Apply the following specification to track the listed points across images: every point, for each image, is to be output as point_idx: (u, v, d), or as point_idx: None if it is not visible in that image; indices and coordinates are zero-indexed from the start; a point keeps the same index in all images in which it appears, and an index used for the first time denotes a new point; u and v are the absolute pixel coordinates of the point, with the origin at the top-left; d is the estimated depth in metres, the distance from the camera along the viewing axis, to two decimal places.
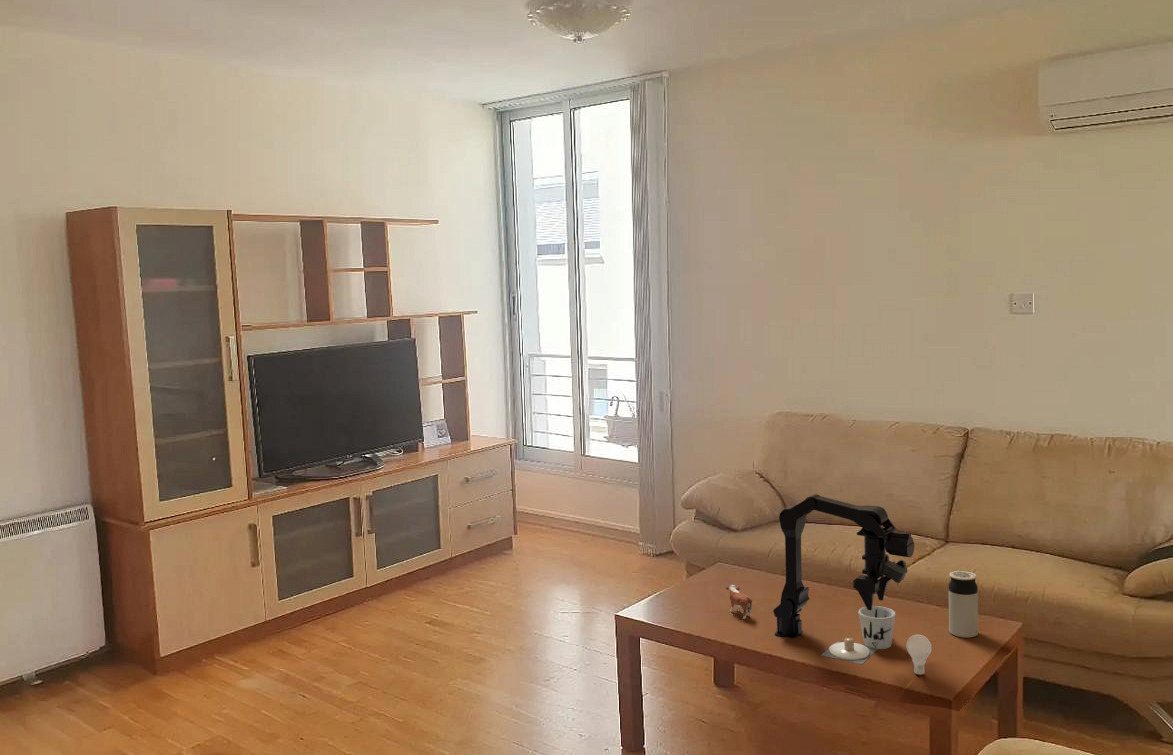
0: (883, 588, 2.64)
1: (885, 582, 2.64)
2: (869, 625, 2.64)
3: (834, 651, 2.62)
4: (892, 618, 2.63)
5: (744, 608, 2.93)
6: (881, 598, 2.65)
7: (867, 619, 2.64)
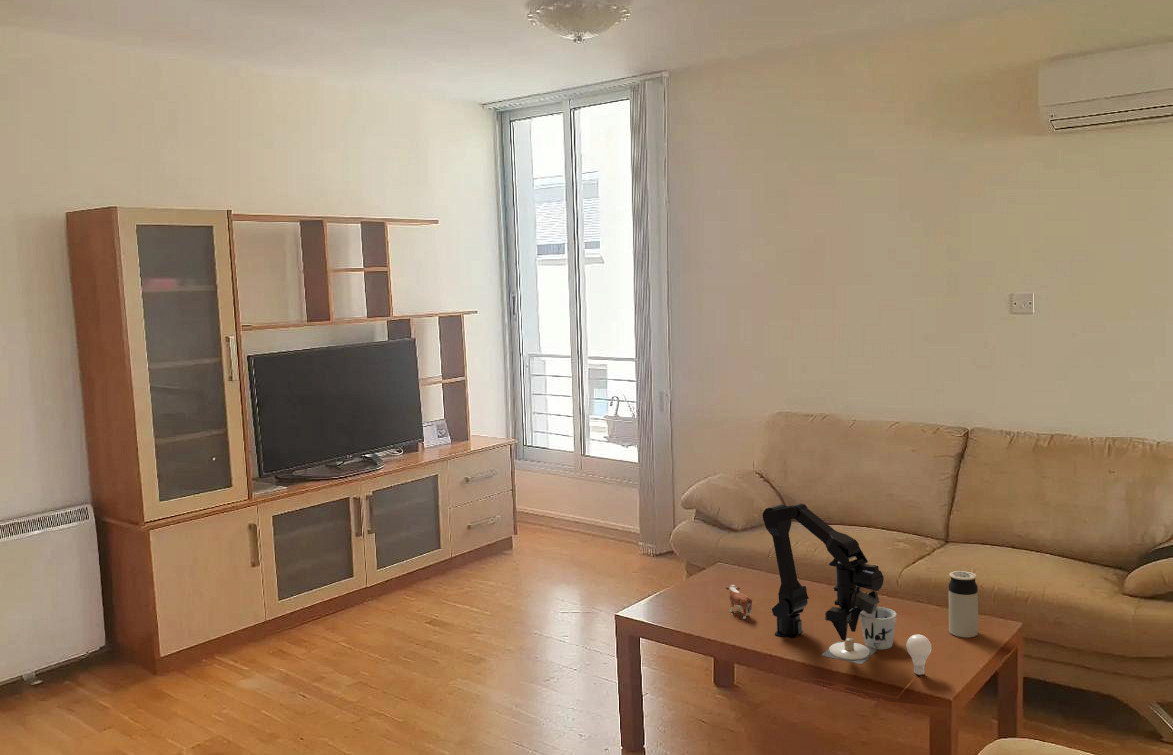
0: (855, 619, 2.65)
1: (857, 613, 2.65)
2: (871, 626, 2.64)
3: (834, 651, 2.62)
4: (893, 618, 2.63)
5: (744, 608, 2.93)
6: (853, 629, 2.65)
7: (869, 620, 2.64)
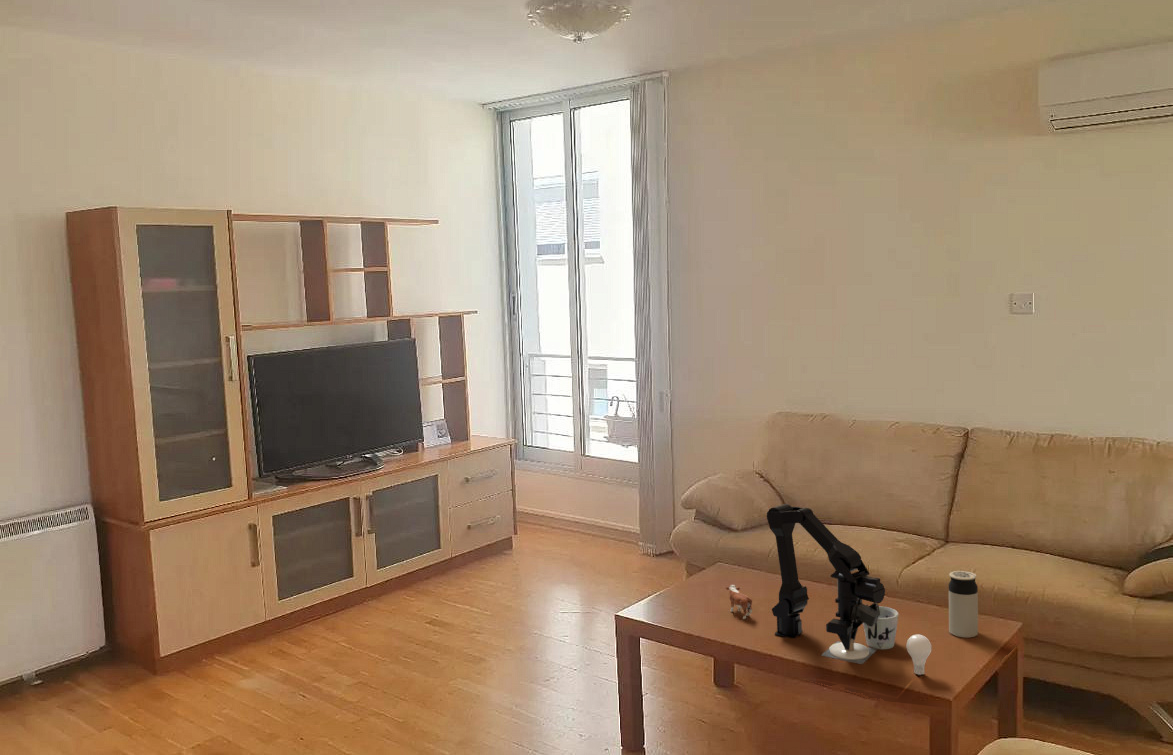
0: (853, 634, 2.63)
1: (855, 628, 2.63)
2: (874, 626, 2.63)
3: (834, 651, 2.62)
4: (896, 617, 2.63)
5: (744, 608, 2.93)
6: None
7: None
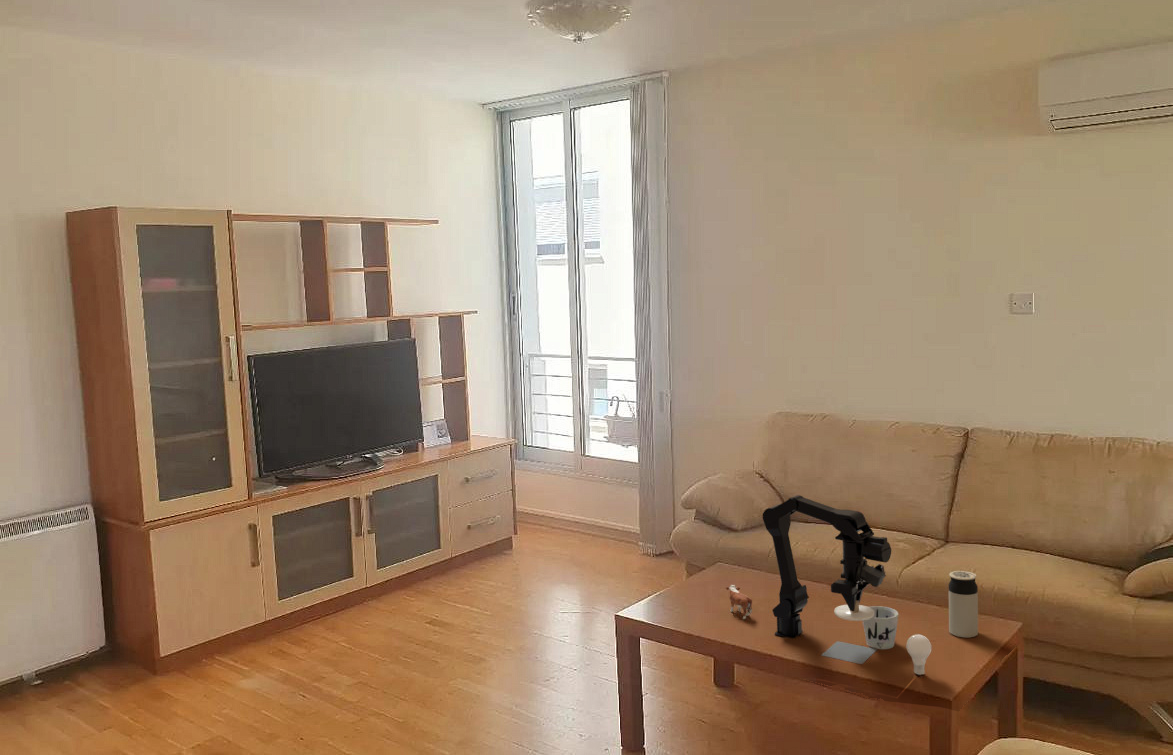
0: (858, 595, 2.64)
1: (860, 589, 2.63)
2: (874, 626, 2.63)
3: (839, 613, 2.62)
4: (896, 617, 2.63)
5: (744, 608, 2.93)
6: None
7: (872, 620, 2.63)
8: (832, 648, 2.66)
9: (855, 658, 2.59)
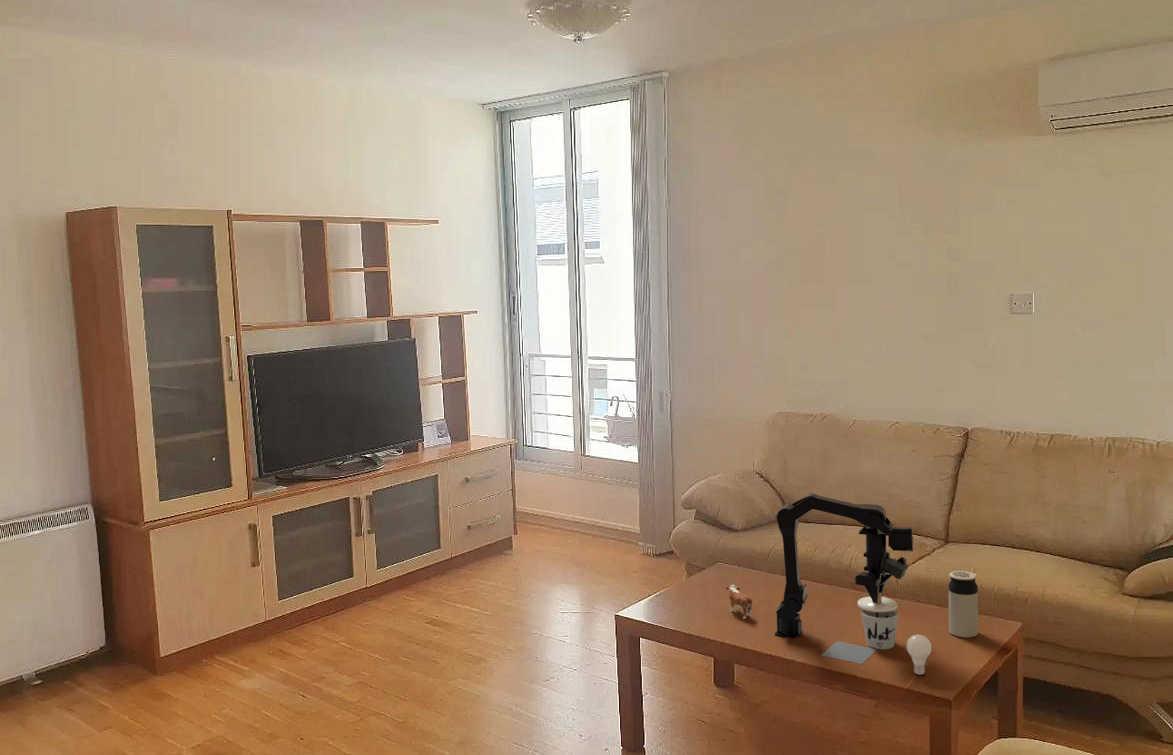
0: (881, 588, 2.69)
1: (883, 582, 2.69)
2: (874, 626, 2.63)
3: (862, 604, 2.68)
4: (896, 617, 2.63)
5: (744, 608, 2.93)
6: None
7: (872, 620, 2.63)
8: (832, 648, 2.66)
9: (855, 658, 2.59)
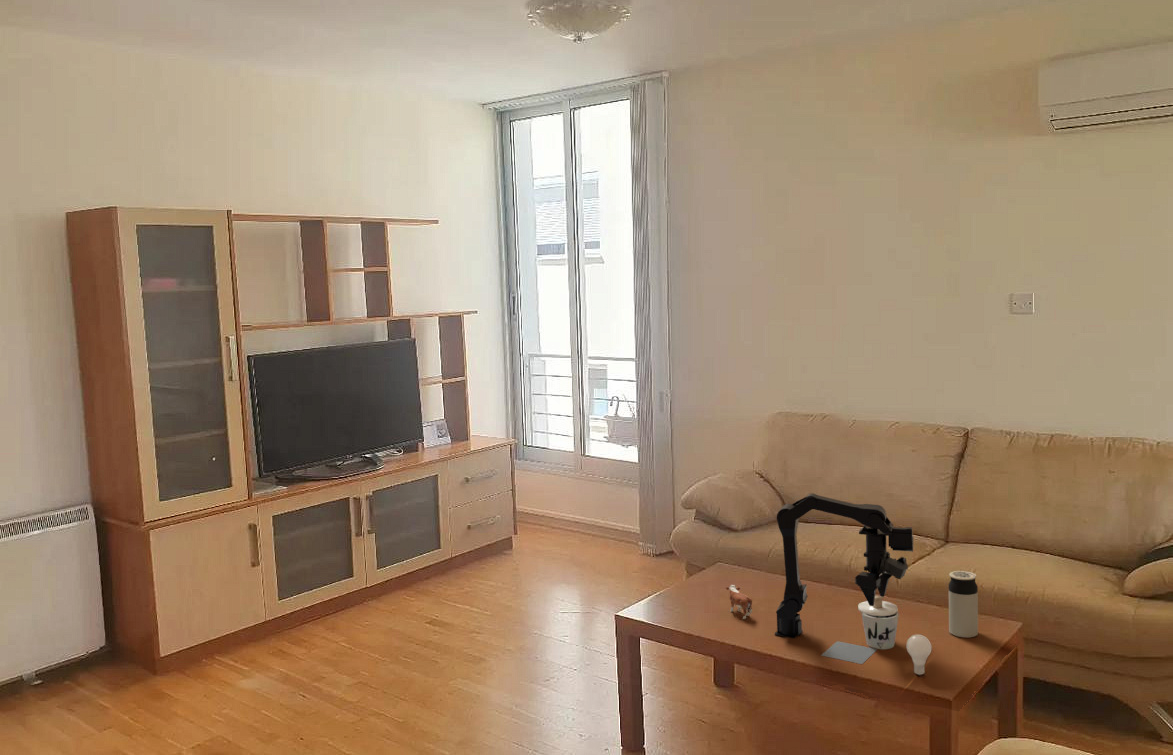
0: (884, 585, 2.72)
1: (886, 579, 2.71)
2: (874, 626, 2.63)
3: (863, 608, 2.68)
4: (896, 617, 2.63)
5: (744, 608, 2.93)
6: (882, 594, 2.72)
7: (872, 620, 2.63)
8: (832, 648, 2.66)
9: (855, 658, 2.59)
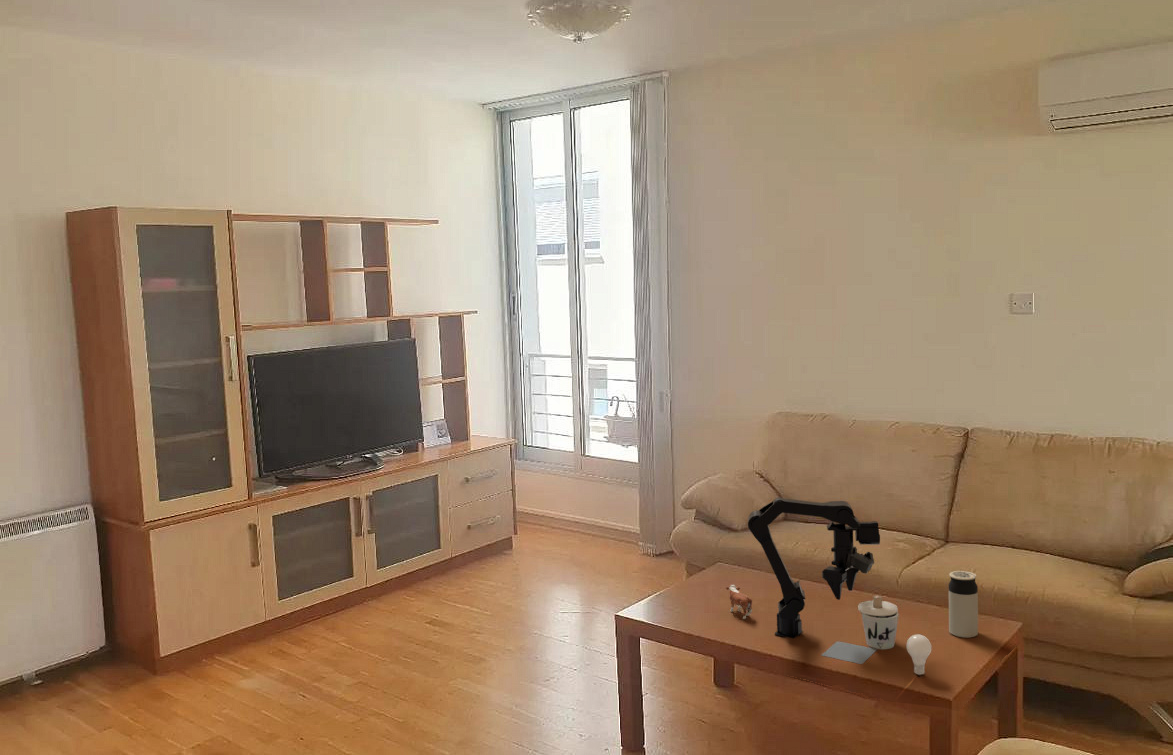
0: (852, 579, 2.78)
1: (854, 573, 2.78)
2: (874, 626, 2.63)
3: (863, 608, 2.68)
4: (896, 617, 2.63)
5: (744, 608, 2.93)
6: (850, 588, 2.79)
7: (872, 620, 2.63)
8: (832, 648, 2.66)
9: (855, 658, 2.59)
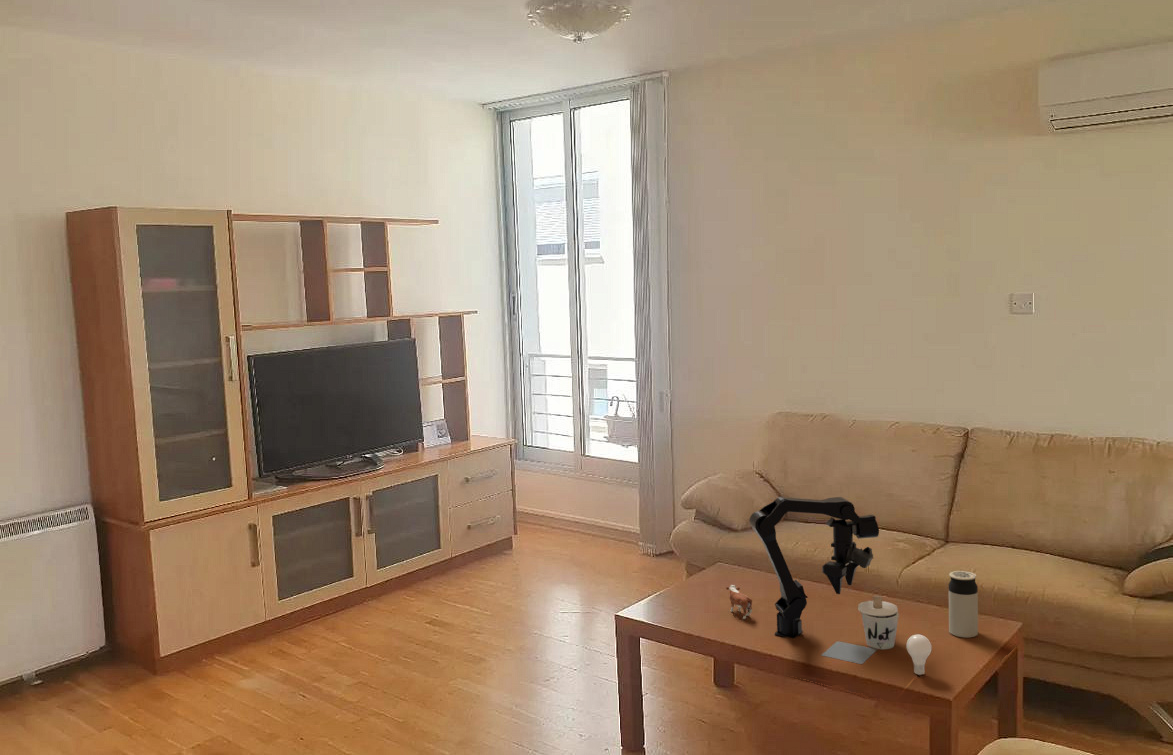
0: (851, 574, 2.83)
1: (853, 568, 2.83)
2: (874, 626, 2.63)
3: (863, 609, 2.68)
4: (896, 617, 2.63)
5: (744, 608, 2.93)
6: (850, 583, 2.83)
7: (872, 620, 2.63)
8: (832, 648, 2.66)
9: (855, 658, 2.59)
